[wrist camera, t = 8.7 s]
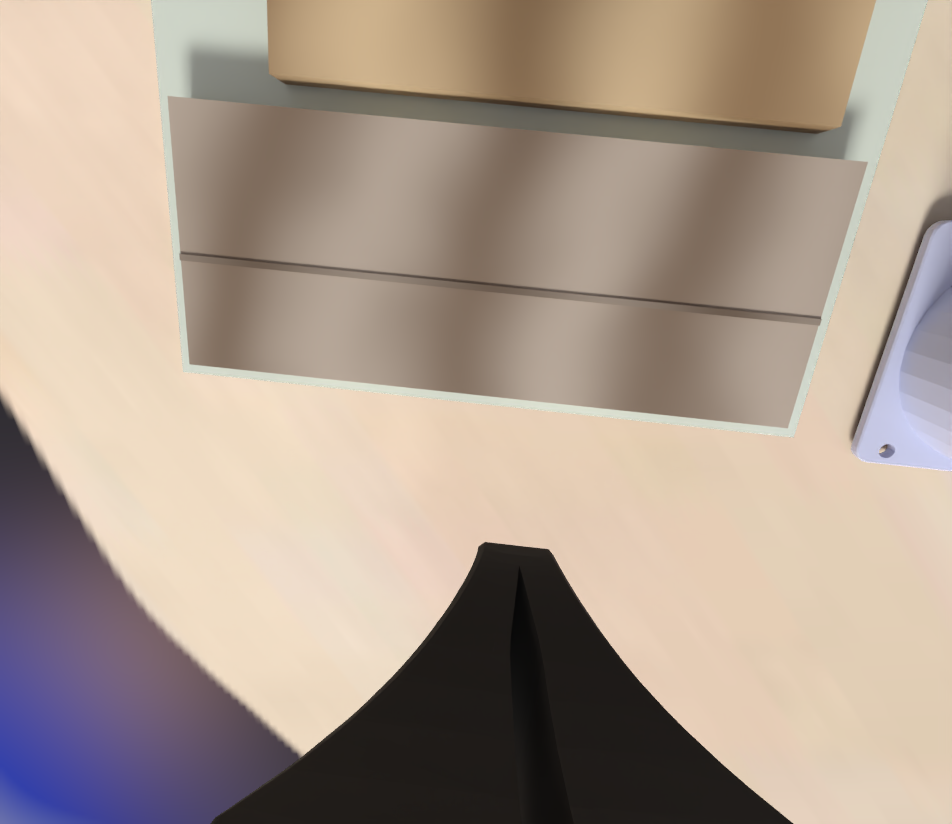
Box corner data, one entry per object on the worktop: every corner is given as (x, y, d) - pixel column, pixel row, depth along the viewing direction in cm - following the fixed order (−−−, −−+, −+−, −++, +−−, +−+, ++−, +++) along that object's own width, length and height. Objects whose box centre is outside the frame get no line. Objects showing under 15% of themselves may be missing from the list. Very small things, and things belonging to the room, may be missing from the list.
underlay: (1021, -320, 13) (1028, -328, 13) (790, 435, 19) (793, 437, 19) (122, -384, 14) (116, -393, 13) (186, 370, 20) (183, 371, 20)
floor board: (843, 166, 16) (869, 161, 15) (771, 416, 19) (788, 428, 18) (190, 104, 17) (166, 95, 16) (208, 356, 19) (188, 364, 18)
